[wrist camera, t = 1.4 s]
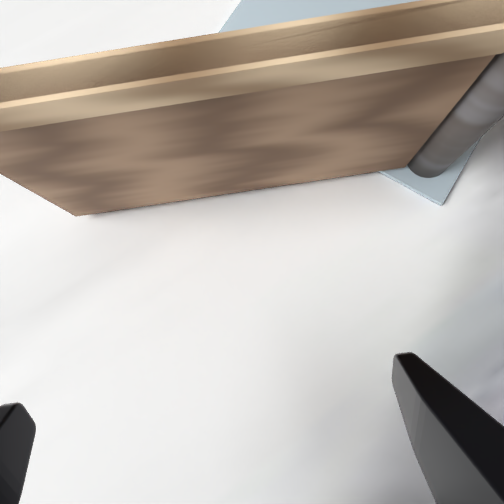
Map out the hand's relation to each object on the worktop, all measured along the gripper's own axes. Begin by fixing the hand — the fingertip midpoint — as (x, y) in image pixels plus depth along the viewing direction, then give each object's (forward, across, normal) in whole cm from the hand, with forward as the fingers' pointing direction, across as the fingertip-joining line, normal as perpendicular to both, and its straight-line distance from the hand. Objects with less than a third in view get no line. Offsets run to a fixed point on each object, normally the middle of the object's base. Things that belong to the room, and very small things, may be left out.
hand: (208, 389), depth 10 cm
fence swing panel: (+15, -1, +1) cm, 15 cm away
